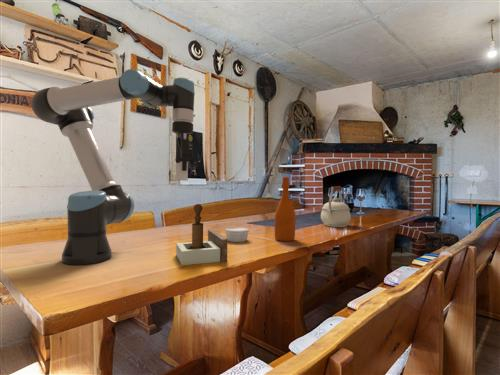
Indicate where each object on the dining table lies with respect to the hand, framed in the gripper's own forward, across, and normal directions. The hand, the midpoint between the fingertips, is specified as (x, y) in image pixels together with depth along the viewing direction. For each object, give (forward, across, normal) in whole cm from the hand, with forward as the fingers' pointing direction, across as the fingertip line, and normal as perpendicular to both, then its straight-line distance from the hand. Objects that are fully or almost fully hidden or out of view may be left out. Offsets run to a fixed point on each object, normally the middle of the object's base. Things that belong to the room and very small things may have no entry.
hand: (181, 180), depth 109 cm
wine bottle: (+27, +14, -51) cm, 60 cm away
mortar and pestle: (+26, -8, -6) cm, 28 cm away
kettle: (+26, +44, -101) cm, 114 cm away
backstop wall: (+28, -5, -13) cm, 31 cm away
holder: (+27, -8, -6) cm, 29 cm away
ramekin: (+28, +20, -29) cm, 45 cm away
